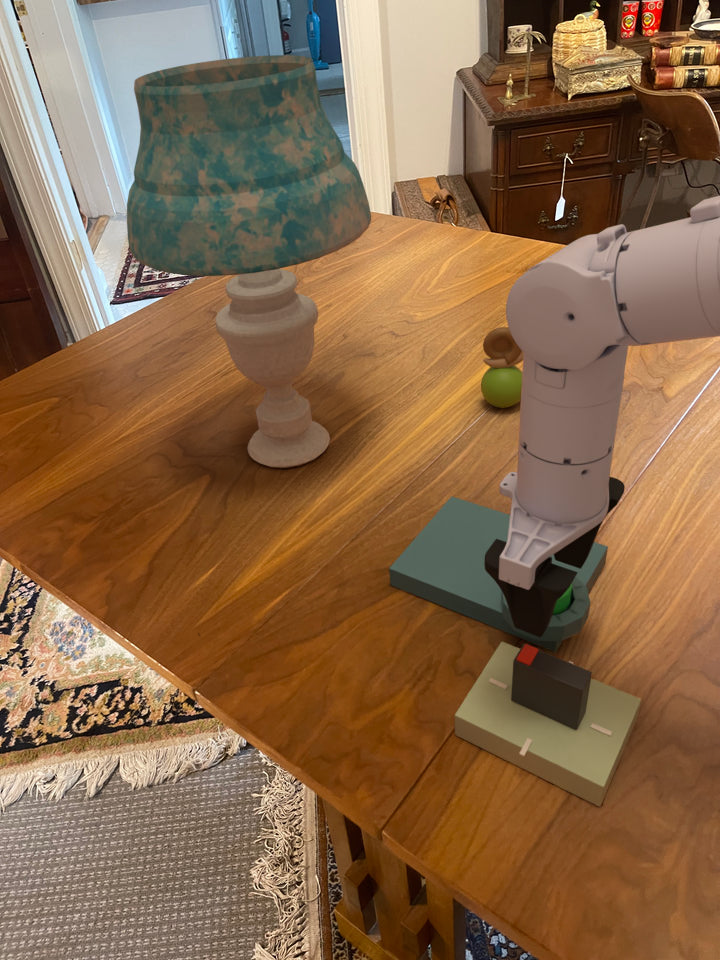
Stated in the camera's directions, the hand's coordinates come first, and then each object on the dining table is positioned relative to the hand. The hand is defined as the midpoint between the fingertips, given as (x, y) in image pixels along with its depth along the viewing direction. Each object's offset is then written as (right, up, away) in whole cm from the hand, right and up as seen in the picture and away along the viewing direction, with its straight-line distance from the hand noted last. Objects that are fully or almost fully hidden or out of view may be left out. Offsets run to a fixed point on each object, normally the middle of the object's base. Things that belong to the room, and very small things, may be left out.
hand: (550, 594), depth 53 cm
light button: (+1, -1, +7) cm, 7 cm away
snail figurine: (+4, +18, +38) cm, 42 cm away
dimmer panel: (0, -10, +1) cm, 10 cm away
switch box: (-1, -1, +14) cm, 14 cm away
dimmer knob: (0, -8, 0) cm, 8 cm away
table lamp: (-22, +12, +35) cm, 43 cm away
